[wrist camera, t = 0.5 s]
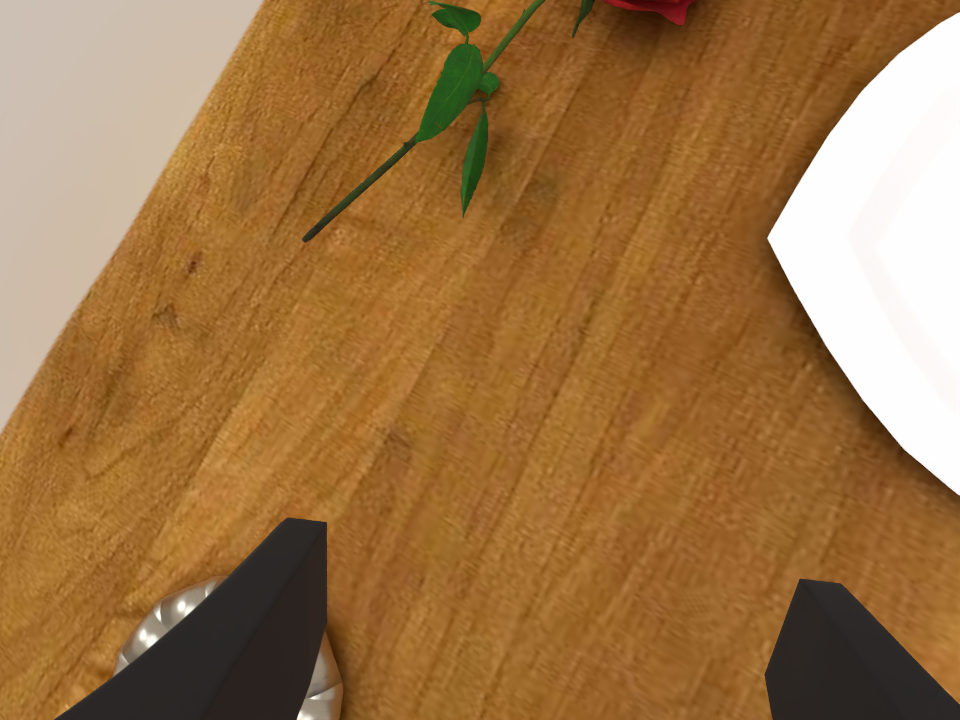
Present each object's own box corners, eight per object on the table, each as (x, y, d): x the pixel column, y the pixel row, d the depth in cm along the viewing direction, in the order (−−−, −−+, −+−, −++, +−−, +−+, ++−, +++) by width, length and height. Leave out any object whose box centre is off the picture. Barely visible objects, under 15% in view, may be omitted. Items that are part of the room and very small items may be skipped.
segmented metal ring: (324, 842, 35) (307, 867, 33) (104, 794, 37) (73, 814, 35) (364, 595, 37) (351, 602, 35) (153, 559, 39) (126, 563, 36)
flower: (305, 221, 29) (806, -269, 32) (208, 148, 35) (640, -258, 38) (417, 348, 35) (819, -69, 39) (319, 269, 41) (676, -86, 45)
